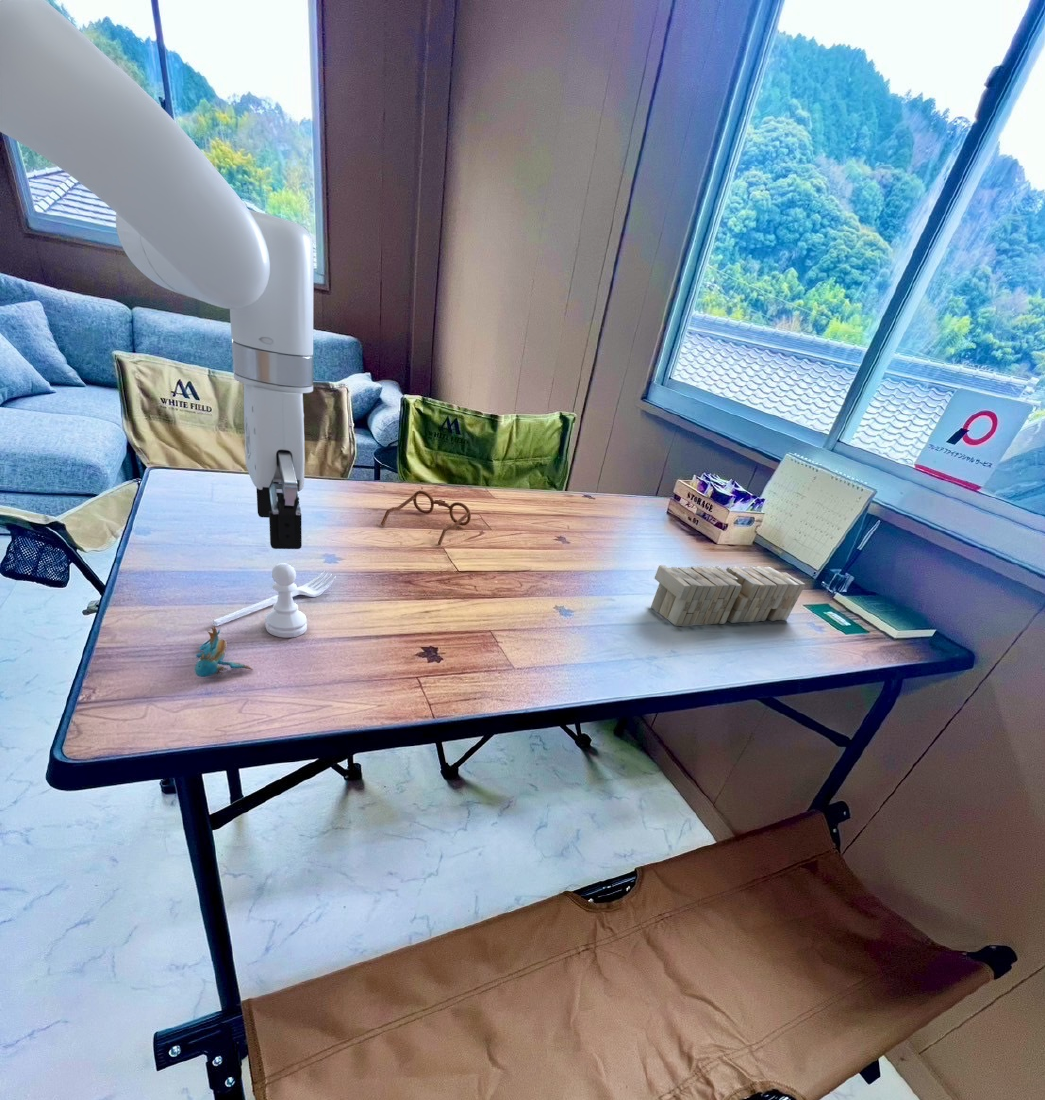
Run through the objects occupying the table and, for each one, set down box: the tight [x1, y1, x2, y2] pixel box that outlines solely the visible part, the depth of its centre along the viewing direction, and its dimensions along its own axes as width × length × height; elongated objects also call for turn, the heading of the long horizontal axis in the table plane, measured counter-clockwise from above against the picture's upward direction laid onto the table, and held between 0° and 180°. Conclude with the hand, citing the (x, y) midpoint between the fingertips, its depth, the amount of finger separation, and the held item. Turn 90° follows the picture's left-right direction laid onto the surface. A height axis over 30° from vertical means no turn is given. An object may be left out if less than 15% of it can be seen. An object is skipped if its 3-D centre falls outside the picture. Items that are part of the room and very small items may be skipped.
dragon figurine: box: [194, 625, 254, 678], centre depth 67 cm, size 6×7×8 cm
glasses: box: [380, 490, 472, 546], centre depth 115 cm, size 13×13×5 cm
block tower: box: [650, 564, 806, 627], centre depth 105 cm, size 8×8×29 cm
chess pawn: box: [264, 562, 308, 639], centre depth 74 cm, size 5×5×9 cm
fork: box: [212, 569, 337, 627], centre depth 81 cm, size 3×20×2 cm, turn 150°
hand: (278, 531), depth 69 cm, fingers open, 9 cm apart
